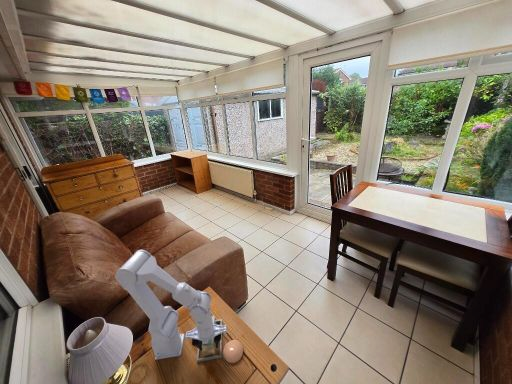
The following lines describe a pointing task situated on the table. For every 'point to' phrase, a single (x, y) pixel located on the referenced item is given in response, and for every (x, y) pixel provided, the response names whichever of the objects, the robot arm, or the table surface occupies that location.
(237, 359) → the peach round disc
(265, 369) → the table surface
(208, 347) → the tan and teal block
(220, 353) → the open rectangular frame
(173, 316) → the robot arm
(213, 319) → the grey block
